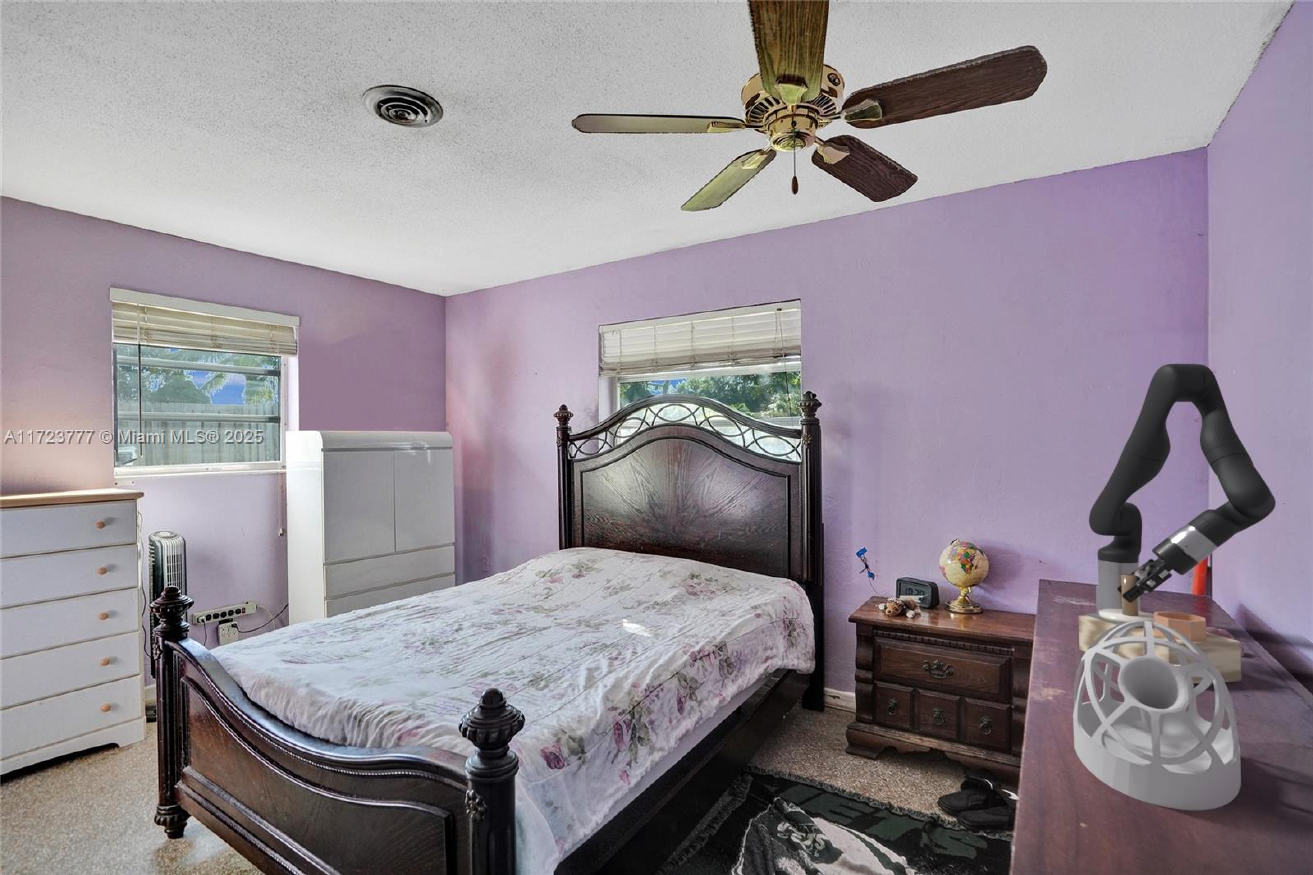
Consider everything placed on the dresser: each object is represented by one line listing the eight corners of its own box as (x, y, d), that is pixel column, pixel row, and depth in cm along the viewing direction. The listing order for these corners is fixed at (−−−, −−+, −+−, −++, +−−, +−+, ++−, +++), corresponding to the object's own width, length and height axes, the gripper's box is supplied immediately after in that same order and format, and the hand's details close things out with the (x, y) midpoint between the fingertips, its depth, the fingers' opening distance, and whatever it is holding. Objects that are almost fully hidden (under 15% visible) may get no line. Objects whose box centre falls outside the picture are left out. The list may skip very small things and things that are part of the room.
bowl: (1144, 630, 140) (1143, 612, 140) (1179, 629, 141) (1179, 611, 141) (1179, 641, 132) (1179, 622, 132) (1217, 640, 132) (1216, 620, 133)
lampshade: (1076, 721, 112) (1230, 751, 100) (1067, 784, 90) (1261, 831, 79) (1073, 603, 113) (1225, 619, 101) (1064, 637, 91) (1256, 662, 79)
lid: (1086, 613, 154) (1085, 571, 154) (1132, 612, 155) (1131, 570, 156) (1127, 626, 142) (1126, 580, 142) (1177, 625, 143) (1176, 579, 144)
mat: (1086, 615, 154) (1086, 613, 154) (1132, 614, 155) (1132, 612, 155) (1128, 628, 142) (1128, 626, 142) (1177, 626, 143) (1177, 625, 143)
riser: (1079, 649, 154) (1078, 615, 154) (1141, 647, 155) (1140, 613, 155) (1169, 684, 130) (1168, 644, 130) (1241, 681, 131) (1240, 641, 132)
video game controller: (1234, 659, 151) (1222, 629, 154) (1248, 656, 147) (1236, 624, 150) (1188, 658, 152) (1178, 628, 155) (1201, 655, 148) (1190, 623, 151)
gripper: (1162, 533, 152) (1104, 578, 157) (1175, 540, 140) (1112, 588, 145) (1192, 557, 149) (1132, 602, 154) (1208, 566, 137) (1142, 615, 142)
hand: (1122, 595), depth 150 cm, fingers open, 8 cm apart
